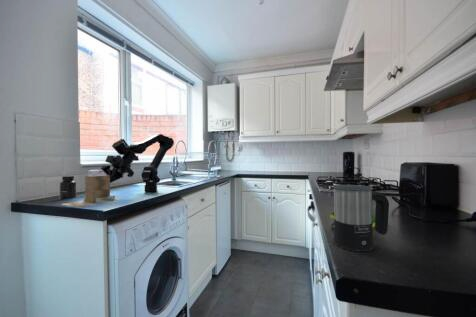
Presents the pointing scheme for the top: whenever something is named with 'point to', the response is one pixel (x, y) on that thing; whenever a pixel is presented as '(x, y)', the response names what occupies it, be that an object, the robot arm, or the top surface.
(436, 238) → the top surface
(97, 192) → the block
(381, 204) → the milk frother
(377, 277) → the top surface
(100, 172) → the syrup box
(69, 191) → the supplement bottle
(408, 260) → the top surface
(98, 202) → the chute
